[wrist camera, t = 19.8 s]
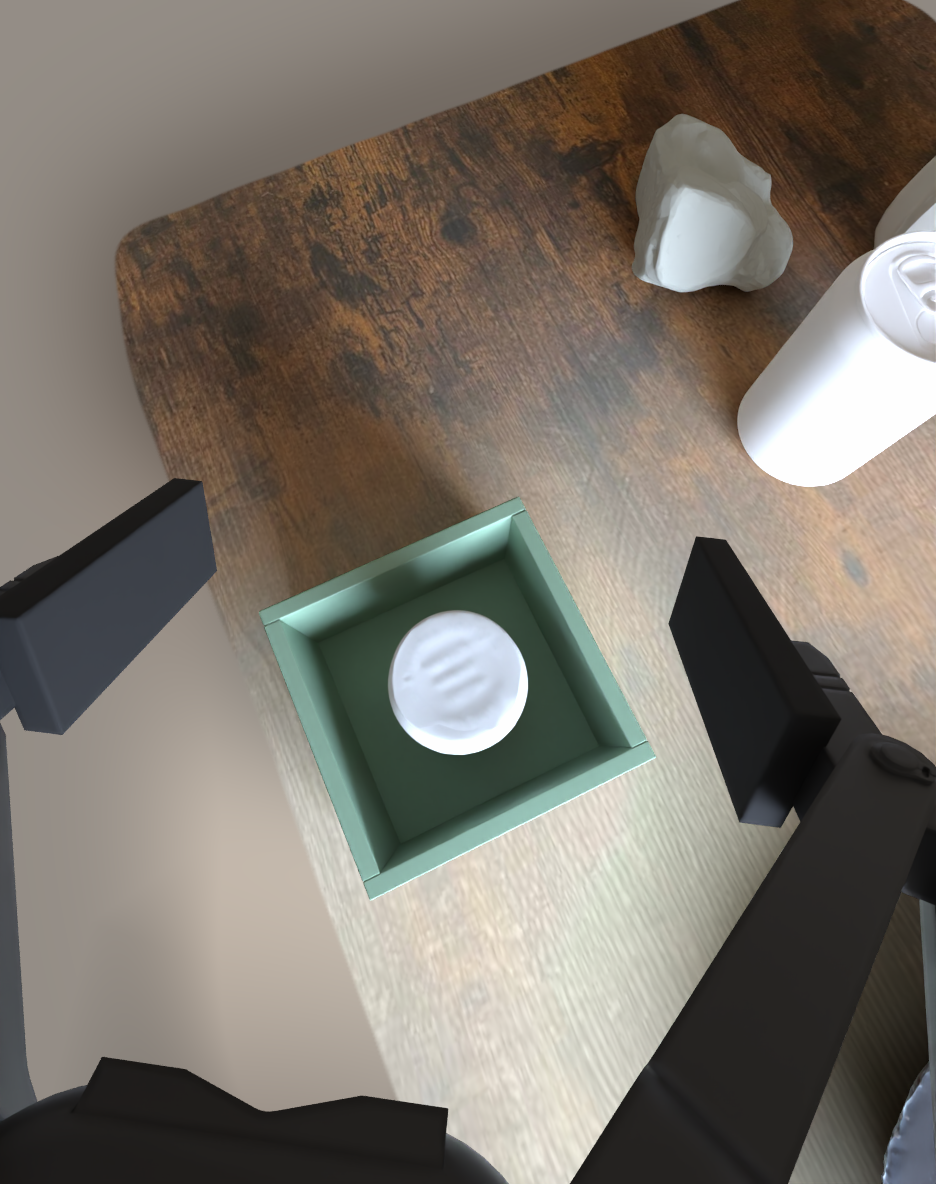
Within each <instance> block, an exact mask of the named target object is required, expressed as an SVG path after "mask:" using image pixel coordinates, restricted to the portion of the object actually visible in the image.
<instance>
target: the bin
mask: <svg viewBox="0 0 936 1184" xmlns="http://www.w3.org/2000/svg"><path fill="white" fill-rule="evenodd" d="M452 610H461V611H469V612H474V613H477V614H480V615H483V616H485V617H487V618H489V619H490V620H492V621H494V622H495V623H496V624H498V625H499V626H500V627H501V628H503V630H504V631H505V632H506V633H507V634H508V635H509V636H510V637H511V639H512V640H513V641H514V643H515V644H516V645H517V647H518V649H519V650H520V652H521V655H522V657H523V660H524V662H525V666H526V670H527V677H528V690H527V697H526V702H525V705H524V708H523V711H522V713H521V715H520V717H519V719H518V720H517V722H516V724H515V726H514V727H513V728H512V729H511V730H510V732H509V733H508V734H507V735H506V736H505V737H503V738H502V739H501V740H500V741H498V742H497V743H495V744H493V745H492V746H490V747H488V748H486V749H484V750H481V751H478V752H475V753H470V754H466V755H459V754H445V753H440V752H437V751H434V750H431V749H429V748H427V747H425V746H423V745H421V744H420V743H418V742H417V741H416V740H414V739H413V738H412V737H411V736H410V735H409V734H408V733H407V732H406V731H405V730H404V729H403V727H402V726H401V725H400V723H399V721H398V720H397V718H396V716H395V714H394V712H393V709H392V706H391V703H390V699H389V693H388V676H389V669H390V666H391V662H392V659H393V657H394V654H395V651H396V649H397V647H398V645H399V643H400V642H401V640H402V639H403V637H404V636H405V635H406V634H407V632H408V631H409V630H410V629H411V628H412V627H414V626H415V625H416V624H417V623H419V622H420V621H422V620H423V619H425V618H427V617H429V616H431V615H434V614H437V613H440V612H445V611H452ZM259 615H260V618H261V620H262V623H263V625H264V626H265V627H264V628H265V631H266V634H267V636H268V639H269V641H270V644H271V646H272V649H273V652H274V654H275V657H276V659H277V662H278V664H279V667H280V670H281V672H282V675H283V677H284V680H285V683H286V685H287V688H288V690H289V693H290V695H291V698H292V701H293V703H294V706H295V708H296V711H297V713H298V716H299V719H300V721H301V724H302V726H303V729H304V731H305V734H306V737H307V739H308V742H309V744H310V747H311V749H312V752H313V755H314V757H315V760H316V762H317V765H318V768H319V770H320V773H321V775H322V778H323V780H324V783H325V786H326V788H327V791H328V793H329V796H330V798H331V801H332V804H333V806H334V809H335V811H336V814H337V816H338V819H339V822H340V824H341V827H342V829H343V832H344V834H345V837H346V840H347V842H348V845H349V847H350V850H351V853H352V855H353V858H354V860H355V863H356V865H357V868H358V871H359V873H360V876H361V878H362V881H364V882H363V883H364V886H365V889H366V891H367V894H368V896H369V899H370V900H373V899H375V898H377V897H379V896H381V895H383V894H385V893H387V892H389V891H391V890H393V889H395V888H397V887H399V886H401V885H403V884H405V883H407V882H409V881H411V880H413V879H415V878H417V877H419V876H421V875H423V874H425V873H427V872H429V871H431V870H433V869H435V868H437V867H439V866H441V865H443V864H445V863H447V862H449V861H451V860H453V859H455V858H457V857H459V856H461V855H463V854H465V853H467V852H469V851H471V850H473V849H475V848H477V847H479V846H481V845H483V844H485V843H487V842H489V841H491V840H493V839H495V838H497V837H499V836H501V835H503V834H505V833H507V832H509V831H511V830H513V829H515V828H517V827H519V826H521V825H523V824H525V823H527V822H529V821H531V820H533V819H535V818H537V817H538V816H540V815H542V814H544V813H546V812H548V811H550V810H552V809H554V808H556V807H558V806H560V805H562V804H564V803H566V802H568V801H570V800H572V799H574V798H576V797H578V796H580V795H582V794H584V793H586V792H588V791H590V790H592V789H594V788H596V787H598V786H600V785H602V784H604V783H606V782H608V781H610V780H612V779H614V778H616V777H618V776H620V775H622V774H624V773H626V772H628V771H630V770H632V769H634V768H636V767H638V766H640V765H642V764H644V763H646V762H648V761H650V760H652V759H654V758H656V756H655V754H654V752H653V750H652V748H651V746H650V744H649V743H648V741H646V737H645V735H644V733H643V731H642V730H641V728H640V726H639V724H638V722H637V720H636V718H635V716H634V714H633V712H632V710H631V709H630V707H629V705H628V703H627V701H626V699H625V697H624V695H623V693H622V691H621V690H620V688H619V686H618V684H617V682H616V680H615V678H614V676H613V674H612V672H611V670H610V669H609V667H608V665H607V663H606V661H605V659H604V657H603V655H602V653H601V651H600V650H599V648H598V646H597V644H596V642H595V640H594V638H593V636H592V634H591V632H590V630H589V629H588V627H587V625H586V623H585V621H584V619H583V617H582V615H581V613H580V611H579V609H578V608H577V606H576V604H575V602H574V600H573V598H572V596H571V594H570V592H569V590H568V589H567V587H566V585H565V583H564V581H563V579H562V577H561V575H560V573H559V571H558V569H557V568H556V566H555V564H554V562H553V560H552V558H551V556H550V554H549V552H548V550H547V549H546V547H545V545H544V543H543V541H542V539H541V537H540V535H539V533H538V531H537V529H536V528H535V526H534V524H533V522H532V520H531V518H530V516H529V514H528V512H527V511H526V510H525V507H524V505H523V503H522V501H521V499H520V498H519V497H516V498H514V499H511V500H509V501H507V502H505V503H502V504H500V505H498V506H496V507H493V508H491V509H489V510H487V511H484V512H482V513H480V514H478V515H475V516H473V517H471V518H469V519H466V520H464V521H462V522H460V523H457V524H455V525H453V526H451V527H448V528H446V529H444V530H442V531H439V532H437V533H435V534H433V535H430V536H428V537H426V538H423V539H421V540H419V541H417V542H414V543H412V544H410V545H408V546H405V547H403V548H401V549H399V550H396V551H394V552H392V553H390V554H387V555H385V556H383V557H381V558H378V559H376V560H374V561H372V562H369V563H367V564H365V565H363V566H360V567H358V568H356V569H354V570H351V571H349V572H347V573H344V574H342V575H340V576H338V577H335V578H333V579H331V580H329V581H326V582H324V583H322V584H320V585H317V586H315V587H313V588H311V589H308V590H306V591H304V592H302V593H299V594H297V595H295V596H293V597H290V598H288V599H286V600H284V601H281V602H279V603H277V604H275V605H272V606H270V607H268V608H266V609H263V610H261V611H259Z"/></svg>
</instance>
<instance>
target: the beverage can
mask: <svg viewBox="0 0 936 1184" xmlns="http://www.w3.org/2000/svg"><path fill="white" fill-rule="evenodd" d="M934 414H936V231H914V232H908V233H904V234H900V235H897V236H895V237H893V238H890V239H888V240H887V241H885V242H883V243H882V244H880V245H879V246H878V247H877V248H876V249H874V250H871V251H869V252H867V253H865V254H864V255H862V256H860V257H859V258H857V259H856V260H854V261H853V262H852V263H851V264H850V265H848V266H847V267H846V268H845V269H844V270H843V271H842V273H841V274H840V275H839V276H838V278H837V279H836V280H835V281H834V283H833V284H832V285H831V286H830V288H829V289H828V290H827V291H826V293H825V294H824V295H823V296H822V298H821V299H820V300H819V301H818V303H817V304H816V305H815V306H814V308H813V309H812V310H811V312H810V313H809V314H808V315H807V317H806V318H805V319H804V320H803V322H802V323H801V324H800V325H799V327H798V328H797V329H796V330H795V332H794V333H793V334H792V335H791V337H790V338H789V339H788V341H787V342H786V343H785V344H784V346H783V347H782V348H781V349H780V351H779V352H778V353H777V354H776V356H775V357H774V358H773V359H772V361H771V362H770V363H769V364H768V366H767V367H766V368H765V370H764V371H763V372H762V373H761V375H760V376H759V377H758V378H757V380H756V381H755V382H754V383H753V385H752V386H751V387H750V388H749V390H748V391H747V392H746V394H745V395H744V397H743V399H742V401H741V404H740V407H739V411H738V418H737V424H738V432H739V436H740V439H741V442H742V444H743V446H744V448H745V450H746V452H747V453H748V455H749V456H750V457H751V459H752V460H753V461H754V462H755V463H756V464H757V465H758V466H759V467H760V468H761V469H763V470H764V471H765V472H767V473H768V474H770V475H771V476H773V477H775V478H777V479H779V480H782V481H784V482H787V483H790V484H794V485H800V486H821V485H826V484H830V483H833V482H836V481H838V480H840V479H842V478H844V477H845V476H847V475H848V474H850V473H851V472H853V471H854V470H856V469H857V468H858V467H860V466H861V465H863V464H864V463H866V462H867V461H868V460H870V459H871V458H873V457H874V456H876V455H877V454H878V453H880V452H881V451H883V450H884V449H886V448H887V447H888V446H890V445H891V444H893V443H894V442H896V441H897V440H899V439H900V438H901V437H903V436H904V435H906V434H907V433H909V432H910V431H911V430H913V429H914V428H916V427H917V426H919V425H920V424H921V423H923V422H924V421H926V420H927V419H929V418H930V417H931V416H933V415H934Z"/></svg>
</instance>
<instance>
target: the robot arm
mask: <svg viewBox="0 0 936 1184" xmlns="http://www.w3.org/2000/svg"><path fill="white" fill-rule="evenodd" d="M216 571H217V568H216V562H215V556H214V549H213V543H212V537H211V531H210V525H209V519H208V513H207V507H206V501H205V495H204V489H203V483H202V481H195V480H186V479H177V478H174V479H172V480H171V481H169V482H168V483H166V484H165V485H163V486H162V487H161V488H159V489H158V490H156V491H155V492H153V493H152V494H150V495H149V496H147V497H146V498H144V499H143V500H141V501H140V502H138V503H137V504H135V505H134V506H132V507H131V508H129V509H128V510H126V511H125V512H123V513H122V514H121V515H119V516H118V517H116V518H115V519H113V520H112V521H110V522H109V523H107V524H106V525H104V526H103V527H101V528H100V529H98V530H97V531H95V532H94V533H92V534H91V535H90V536H88V537H86V538H85V539H84V540H82V541H80V542H79V543H78V544H76V545H75V546H73V547H72V548H70V549H69V550H67V551H66V552H64V553H63V554H61V555H60V556H57V557H54V558H52V559H49V560H47V561H44V562H41V563H39V564H36V565H33V566H32V567H30V568H29V569H28V570H26V571H24V572H23V573H21V574H20V575H18V576H17V577H15V578H14V581H9V582H7V583H6V584H4V585H3V586H1V587H0V720H1V719H2V718H3V717H4V716H5V715H6V714H8V713H9V712H10V711H11V710H12V709H13V708H14V707H15V709H16V712H17V714H18V716H19V719H20V720H21V723H22V725H23V728H24V730H28V731H35V732H43V733H52V734H59V735H63V734H64V732H65V731H66V730H67V729H68V728H69V727H70V726H71V725H72V724H73V723H74V722H75V721H76V720H77V719H78V718H79V717H80V716H81V714H82V713H83V712H84V711H85V710H86V709H87V708H88V707H89V706H90V705H91V704H92V703H93V702H94V701H95V700H96V698H98V696H99V695H100V694H101V693H102V692H103V691H104V690H105V689H106V688H107V687H108V686H109V685H110V684H111V683H112V682H113V680H115V678H116V677H117V676H118V675H119V674H120V673H121V672H122V671H123V670H124V669H125V668H126V667H127V666H128V665H129V664H130V662H131V661H132V660H133V659H134V658H135V657H136V656H137V655H138V654H139V653H140V652H141V651H142V650H143V649H144V648H145V647H146V646H147V644H148V643H149V642H150V641H151V640H152V639H153V638H154V637H155V636H156V635H157V634H158V633H159V632H160V631H161V630H162V628H163V627H164V626H165V625H166V624H167V623H168V622H169V621H170V620H171V619H172V618H173V617H174V616H175V615H176V614H177V613H178V612H179V610H180V609H181V608H182V607H183V606H184V605H185V604H186V603H187V602H188V601H189V600H190V599H191V598H192V596H194V594H196V593H197V591H198V590H199V589H200V588H201V587H202V586H203V585H204V584H205V583H206V582H207V581H208V580H209V579H210V578H211V577H212V576H213V574H214V573H215V572H216ZM669 626H670V629H671V632H672V635H673V637H674V640H675V643H676V646H677V649H678V651H679V654H680V657H681V660H682V663H683V665H684V668H685V671H686V674H687V677H688V679H689V682H690V685H691V688H692V691H693V693H694V696H695V699H696V702H697V705H698V708H699V710H700V713H701V716H702V719H703V722H704V724H705V727H706V730H707V733H708V736H709V738H710V741H711V744H712V747H713V750H714V752H715V755H716V758H717V761H718V764H719V766H720V769H721V772H722V775H723V778H724V780H725V783H726V786H727V789H728V792H729V794H730V797H731V800H732V803H733V806H734V808H735V811H736V814H737V817H738V820H739V822H741V823H748V824H756V825H764V826H772V827H779V828H781V826H782V825H783V823H784V821H785V819H786V818H787V816H788V814H789V812H790V810H791V809H792V807H794V809H795V811H796V813H797V815H798V817H799V820H800V824H799V825H798V827H797V828H796V830H795V832H794V833H793V835H792V836H791V838H790V839H789V841H788V843H787V844H786V846H785V847H784V849H783V851H782V852H781V854H780V855H779V857H778V858H777V860H776V862H775V863H774V865H773V866H772V868H771V870H770V871H769V873H768V874H767V876H766V877H765V879H764V881H763V882H762V884H761V885H760V887H759V889H758V890H757V892H756V893H755V895H754V896H753V898H752V900H751V901H750V903H749V904H748V906H747V908H746V909H745V911H744V912H743V914H742V915H741V917H740V919H739V920H738V922H737V923H736V925H735V927H734V928H733V930H732V931H731V933H730V934H729V936H728V938H727V939H726V941H725V942H724V944H723V946H722V947H721V949H720V950H719V952H718V953H717V955H716V957H715V958H714V960H713V961H712V963H711V965H710V966H709V968H708V969H707V971H706V972H705V974H704V976H703V977H702V979H701V980H700V982H699V984H698V985H697V987H696V988H695V990H694V991H693V993H692V995H691V996H690V998H689V999H688V1001H687V1003H686V1004H685V1006H684V1007H683V1009H682V1011H681V1012H680V1014H679V1015H678V1017H677V1018H676V1020H675V1022H674V1023H673V1025H672V1026H671V1028H670V1030H669V1031H668V1033H667V1034H666V1036H665V1037H664V1039H663V1041H662V1042H661V1044H660V1045H659V1047H658V1049H657V1050H656V1052H655V1053H654V1055H653V1056H652V1058H651V1059H650V1061H649V1062H648V1064H647V1065H646V1066H645V1067H644V1069H643V1070H642V1072H641V1073H640V1075H639V1076H638V1077H637V1079H636V1081H635V1082H634V1084H633V1085H632V1087H631V1088H630V1090H629V1091H628V1093H627V1095H626V1096H625V1098H624V1099H623V1101H622V1102H621V1104H620V1106H619V1107H618V1109H617V1110H616V1112H615V1113H614V1115H613V1117H612V1118H611V1120H610V1121H609V1123H608V1125H607V1126H606V1128H605V1129H604V1131H603V1132H602V1134H601V1136H600V1137H599V1139H598V1140H597V1142H596V1143H595V1145H594V1147H593V1148H592V1150H591V1151H590V1153H589V1155H588V1156H587V1158H586V1159H585V1161H584V1162H583V1164H582V1166H581V1167H580V1169H579V1170H578V1172H577V1173H576V1175H575V1177H574V1178H573V1180H572V1181H571V1183H570V1184H788V1183H789V1180H790V1177H791V1174H792V1172H793V1169H794V1166H795V1164H796V1161H797V1159H798V1156H799V1154H800V1151H801V1148H802V1146H803V1143H804V1141H805V1138H806V1136H807V1133H808V1130H809V1128H810V1125H811V1123H812V1120H813V1118H814V1115H815V1112H816V1110H817V1107H818V1105H819V1102H820V1100H821V1097H822V1094H823V1092H824V1089H825V1087H826V1084H827V1082H828V1079H829V1076H830V1074H831V1071H832V1069H833V1066H834V1064H835V1061H836V1058H837V1056H838V1053H839V1051H840V1048H841V1046H842V1043H843V1040H844V1038H845V1035H846V1033H847V1030H848V1028H849V1025H850V1022H851V1020H852V1017H853V1015H854V1012H855V1010H856V1007H857V1004H858V1002H859V999H860V997H861V994H862V992H863V989H864V986H865V984H866V981H867V979H868V976H869V974H870V971H871V968H872V966H873V963H874V961H875V958H876V956H877V953H878V950H879V948H880V945H881V943H882V940H883V937H884V935H885V932H886V930H887V927H888V925H889V922H890V919H891V917H892V914H893V912H894V909H895V907H896V904H897V901H898V899H899V896H900V894H901V892H903V893H905V894H908V895H910V896H913V897H915V898H918V899H919V903H920V919H921V935H922V952H923V968H924V984H925V1000H926V1016H927V1033H928V1049H929V1065H930V1081H931V1097H932V1114H933V1130H934V1146H935V1162H936V767H935V765H934V764H933V763H932V762H931V761H930V760H929V759H927V758H926V757H925V756H924V755H923V754H922V753H921V752H919V751H917V750H916V749H914V748H912V747H911V746H909V745H908V744H906V743H904V742H901V741H899V740H896V739H894V738H891V737H889V736H885V735H882V734H881V732H880V731H879V729H878V728H877V727H876V725H875V724H874V722H873V721H872V719H871V718H870V717H869V715H868V714H867V712H866V711H865V710H864V708H863V707H862V705H861V704H860V703H859V701H858V700H857V698H856V697H855V695H854V694H853V693H852V692H849V690H850V688H849V687H848V686H847V684H846V683H845V681H844V680H843V678H840V674H839V673H838V671H837V670H836V669H835V667H834V666H833V664H832V663H831V661H830V660H829V659H828V658H827V657H826V656H825V655H823V654H822V653H821V652H820V651H818V650H817V649H816V648H815V647H813V646H812V645H811V644H809V643H808V642H799V641H791V640H790V638H789V637H788V635H787V634H786V632H785V631H784V629H783V628H782V626H781V624H780V623H779V621H778V620H777V618H776V617H775V615H774V614H773V612H772V611H771V609H770V607H769V606H768V604H767V603H766V601H765V600H764V598H763V597H762V595H761V593H760V592H759V590H758V589H757V587H756V586H755V584H754V583H753V581H752V580H751V578H750V576H749V575H748V573H747V572H746V570H745V569H744V567H743V566H742V564H741V562H740V561H739V559H738V558H737V556H736V555H735V553H734V552H733V550H732V549H731V547H730V545H729V544H728V542H727V541H726V540H723V539H714V538H705V537H696V538H695V542H694V545H693V548H692V551H691V554H690V557H689V561H688V564H687V567H686V570H685V573H684V576H683V580H682V583H681V586H680V589H679V592H678V596H677V599H676V602H675V605H674V608H673V611H672V615H671V618H670V621H669ZM13 859H14V858H13V842H12V827H11V811H10V796H9V780H8V764H7V749H6V735H5V732H4V730H3V728H2V726H1V724H0V1184H508V1182H507V1181H506V1180H505V1178H504V1177H503V1176H502V1175H501V1174H500V1173H499V1172H498V1171H497V1170H496V1169H495V1168H494V1167H493V1166H492V1165H491V1164H490V1163H489V1162H488V1161H487V1160H486V1159H485V1158H484V1157H482V1156H481V1155H480V1154H478V1153H477V1152H476V1151H474V1150H473V1149H472V1148H471V1147H469V1146H468V1145H467V1144H465V1143H463V1142H462V1141H460V1140H458V1139H456V1138H454V1137H452V1136H451V1135H449V1134H447V1133H446V1128H447V1117H448V1108H442V1107H435V1106H428V1105H422V1104H415V1103H408V1102H402V1101H395V1100H388V1099H381V1098H375V1097H368V1096H357V1097H352V1098H346V1099H340V1100H335V1101H329V1102H323V1103H318V1104H312V1105H307V1106H301V1107H295V1108H290V1109H285V1110H279V1111H272V1112H265V1111H261V1110H258V1109H256V1108H254V1107H252V1106H250V1105H248V1104H247V1103H245V1102H243V1101H241V1100H240V1099H238V1098H236V1097H234V1096H232V1095H231V1094H229V1093H227V1092H225V1091H224V1090H222V1089H220V1088H218V1087H216V1086H215V1085H213V1084H211V1083H209V1082H207V1081H206V1080H204V1079H202V1078H200V1077H198V1076H197V1075H195V1074H193V1073H191V1072H189V1071H188V1070H186V1069H180V1068H174V1067H167V1066H160V1065H153V1064H147V1063H140V1062H133V1061H127V1060H120V1059H112V1058H107V1057H102V1058H101V1060H100V1062H99V1064H98V1066H97V1068H96V1070H95V1071H94V1073H93V1075H92V1077H91V1079H90V1081H89V1083H88V1085H85V1086H80V1087H77V1088H73V1089H70V1090H67V1091H64V1092H60V1093H57V1094H54V1095H52V1096H50V1097H47V1098H45V1099H43V1100H41V1101H38V1102H37V1099H36V1096H35V1093H34V1090H33V1086H32V1083H31V1080H30V1076H29V1072H28V1067H27V1058H26V1045H25V1030H24V1014H23V998H22V983H21V967H20V952H19V936H18V921H17V906H16V890H15V874H14V860H13Z"/></svg>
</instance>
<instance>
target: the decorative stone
mask: <svg viewBox="0 0 936 1184" xmlns="http://www.w3.org/2000/svg"><path fill="white" fill-rule="evenodd" d="M770 189H771V175H770V174H768V173H766V172H764V170H763V169H762V168H761V167H759V166H758V165H756V164H754V163H752V162H751V161H749V160H747V159H746V158H745V157H743V156H742V155H741V154H740V153H739V152H738V151H737V150H736V148H735V147H734V145H733V144H732V142H731V141H730V139H729V138H728V137H727V136H726V135H725V133H724V132H723V131H722V130H721V129H719V128H716V127H714V126H712V125H709V124H707V123H705V122H703V121H701V120H698V119H696V118H694V117H691V116H689V115H686V114H679V115H676V116H675V117H674V118H673V119H671V120H670V121H669V122H668V123H666V124H665V125H664V126H662V127H661V128H659V129H657V130H656V132H655V134H654V137H653V139H652V142H651V144H650V147H649V149H648V151H647V154H646V157H645V160H644V163H643V166H642V170H641V172H640V176H639V180H638V183H637V188H636V197H635V199H636V205H637V212H638V215H639V219H640V220H639V225H638V229H637V233H636V237H635V241H634V250H635V260H634V262H633V264H632V271H633V273H634V275H635V276H637V277H638V278H639V279H641V280H643V281H645V282H648V283H652V284H655V285H658V286H662V287H665V288H668V289H671V290H674V291H677V292H691V291H696V290H699V289H702V288H705V287H708V286H715V285H733V286H736V287H737V288H739V289H741V290H743V291H745V292H748V291H753V290H756V289H761V288H765V287H767V286H769V285H770V284H771V283H773V282H774V281H775V280H776V279H777V278H779V277H780V276H781V274H782V273H783V272H784V270H785V267H786V265H787V262H788V260H789V257H790V255H791V252H792V249H793V237H792V233H791V230H790V228H789V226H788V225H787V223H786V222H785V221H784V220H783V219H782V218H781V216H780V215H779V213H778V212H777V210H776V209H775V208H774V207H773V206H772V204H771V200H770Z"/></svg>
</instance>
